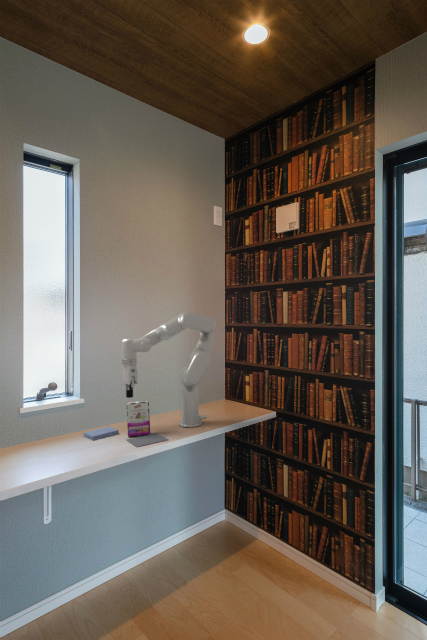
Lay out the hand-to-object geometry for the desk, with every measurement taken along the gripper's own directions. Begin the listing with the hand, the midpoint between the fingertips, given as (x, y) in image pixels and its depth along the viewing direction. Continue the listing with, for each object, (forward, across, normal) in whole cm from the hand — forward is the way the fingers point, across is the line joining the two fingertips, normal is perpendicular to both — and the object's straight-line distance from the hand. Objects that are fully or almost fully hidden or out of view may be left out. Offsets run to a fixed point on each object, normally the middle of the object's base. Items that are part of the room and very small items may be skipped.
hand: (129, 397), depth 193 cm
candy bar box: (+18, -10, -1) cm, 20 cm away
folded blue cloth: (+18, +3, +14) cm, 23 cm away
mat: (+18, -20, -1) cm, 27 cm away
